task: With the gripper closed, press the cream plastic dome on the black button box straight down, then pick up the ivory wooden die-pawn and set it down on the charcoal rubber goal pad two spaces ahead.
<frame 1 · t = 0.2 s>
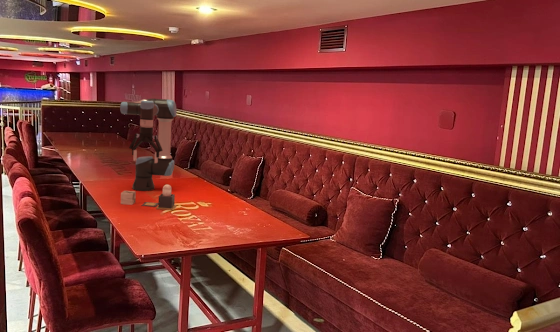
hand: (145, 161, 285), 28 cm above the table, fingers open, 13 cm apart
dome plunger: (166, 192, 288), point 10 cm above the table, slide at 0.0 cm
die: (128, 203, 294), on the table
button box: (166, 207, 290), on the table
goal pad: (150, 204, 294), on the table
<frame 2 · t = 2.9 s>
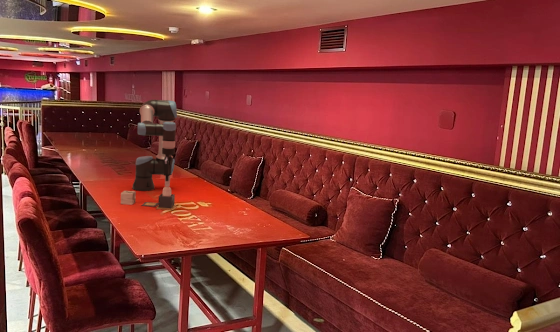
hand: (167, 185, 288), 14 cm above the table, fingers closed
dome plunger: (166, 193, 289), point 9 cm above the table, slide at 1.2 cm, touching gripper
everything else where it was.
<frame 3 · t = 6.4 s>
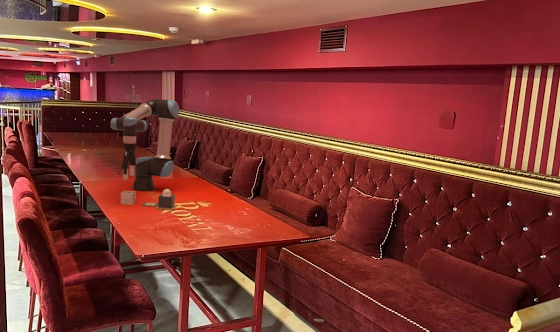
hand: (128, 177, 292), 16 cm above the table, fingers open, 12 cm apart
dome plunger: (166, 196, 289), point 7 cm above the table, slide at 2.9 cm
everything else where it was.
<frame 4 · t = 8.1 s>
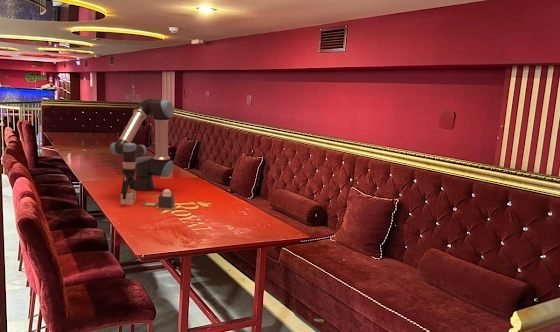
hand: (128, 201, 294), 1 cm above the table, fingers open, 13 cm apart
nothing on the table moved.
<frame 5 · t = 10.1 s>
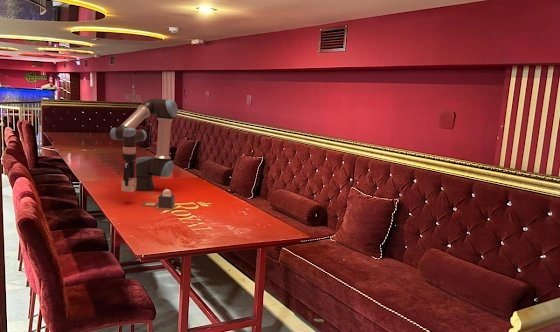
hand: (128, 189, 293), 9 cm above the table, fingers closed on die, 7 cm apart
die: (128, 190, 293), point 8 cm above the table, touching gripper
everything else where it was.
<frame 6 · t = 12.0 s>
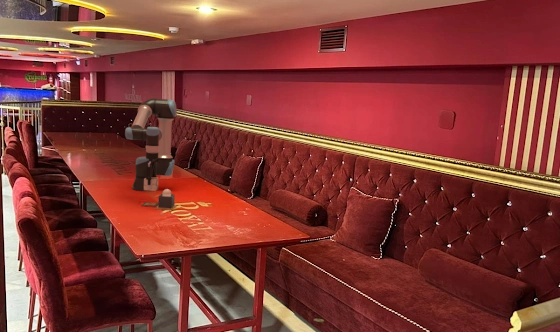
hand: (151, 188, 293), 10 cm above the table, fingers closed on die, 7 cm apart
die: (150, 189, 293), point 10 cm above the table, touching gripper
everything else where it was.
when the fingers open (1 cm above the table, at t = 14.4 s): die stays where it is, resting on goal pad.
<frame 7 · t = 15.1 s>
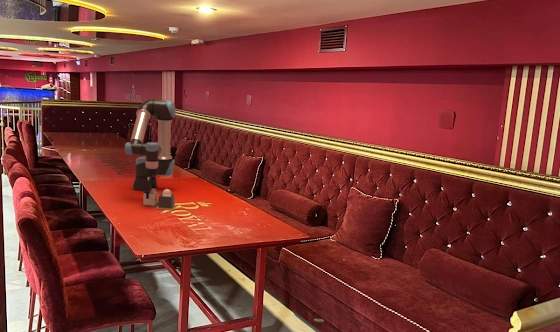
hand: (150, 201, 294), 2 cm above the table, fingers open, 13 cm apart
die: (150, 204, 294), resting on goal pad
everything else where it was.
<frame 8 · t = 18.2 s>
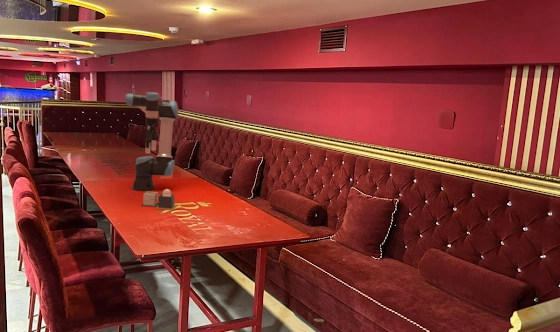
hand: (150, 151, 293), 33 cm above the table, fingers open, 13 cm apart
nothing on the table moved.
at the end: dome plunger slide at 2.9 cm; die inside the target area (0.1 cm from its centre), resting on goal pad; die tilted 0° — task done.
